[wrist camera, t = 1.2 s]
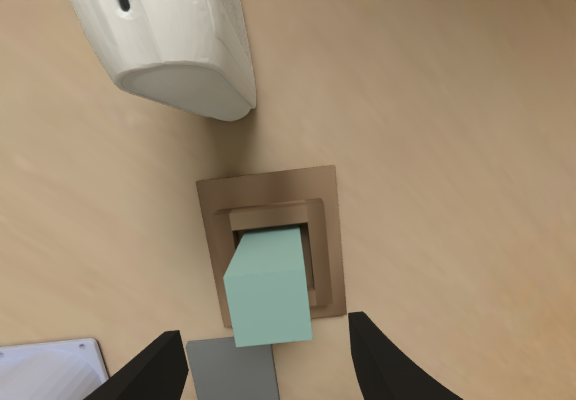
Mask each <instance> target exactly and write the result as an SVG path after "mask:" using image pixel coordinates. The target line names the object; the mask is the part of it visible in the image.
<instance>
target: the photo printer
mask: <svg viewBox="0 0 576 400" xmlns="http://www.w3.org/2000/svg"><path fill="white" fill-rule="evenodd" d="M70 1H71V4H72V6H73V8H74V11H75V13H76V15H77V17H78V20H79V22H80V24H81V26H82V28H83V30H84V32H85V35H86V37H87V39H88V41H89V43H90V45H91V46H92V48H93V50H94V52H95V54H96V55H97V57H98V59H99V61H100V62H101V64H102V65H103V67H104V69H105V70H106V72H107V74H108V75H109V77H110V78H111V80H112V81H113V83H114V84H115V85H116V86H117V87H118V88H119V89H121V90H123V91H125V92H128V93H130V94H133V95H137V96H140V97H143V98H145V99H149V100H152V101H155V102H158V103H161V104H164V105H167V106H171V107H174V108H176V109H180V110H183V111H186V112H189V113H192V114H196V115H199V116H202V117H213V118H216V119H219V120H222V121H235V120H238V119H241V118H242V117H244V116H245V115H247V114H248V113H249V111H250V110H251V109H255V108H256V85H255V79H254V72H253V66H252V60H251V54H250V48H249V43H248V37H247V32H246V27H245V22H244V16H243V11H242V6H241V1H240V0H70Z"/></svg>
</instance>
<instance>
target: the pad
mask: <svg viewBox="0 0 576 400" xmlns="http://www.w3.org/2000/svg"><path fill="white" fill-rule="evenodd" d="M186 351H187V355H188V359H189V364H190V368H191V372H192V376H193V381H194V385H195V389H196V393H197V397H198V400H280V398H279V391H278V384H277V378H276V371H275V365H274V358H273V352H272V345H271V344H264V345H254V346H244V347H236V344H235V338H234V337H229V338H219V339H209V340H199V341H189V342H188V343H187V345H186Z"/></svg>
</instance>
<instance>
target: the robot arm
mask: <svg viewBox="0 0 576 400" xmlns="http://www.w3.org/2000/svg"><path fill="white" fill-rule="evenodd" d="M348 318H349V331H350V344H351V355H352V359H353V363H354V368H355V372H356V376H357V380H358V383H359V386H360V389H361V391H362V394H363V397H364V400H463V399H462V398H460V397H459V396H457V395H456V394H454V393H453V392H451V391H450V390H448V389H447V388H446V387H444V386H443V385H441V384H440V383H439V382H438V381H436V380H435V379H434V378H432V377H431V376H430V375H428V374H427V373H426V372H425V371H424V370H422V369H421V368H420V367H419V366H418V365H416V364H415V363H414V362H413V361H412V360H411V359H410V358H408V357H407V356H406V355H405V354H404V353H403V352H402V351H401V350H400V349H399V348H398V347H397V346H396V345H395V344H393V343H392V342H391V341H390V340H389V339H388V338H387V337H386V336H385V335H384V334H383V333H382V331H381V330H380V329H379V328H378V327H377V326H376V325H375V324H374V323H373V322H372V321H371V319H370V318H369V317H368V316H367V315H366V314H365V313H364V312H363V311H362V312H353V313H348ZM188 371H189V369H188V365H187V361H186V356H185V352H184V348H183V344H182V340H181V336H180V331H179V330H175V331H166V332H164V333H163V334H161V335H160V336H159V337H158V338H156V339H155V340H154V341H153V342H152V343H151V344H149V345H148V346H147V347H146V348H145V349H144V350H142V351H141V352H140V353H139V354H138V355H137V356H136V357H134V358H133V359H132V360H131V361H130V362H129V363H127V364H126V365H125V366H124V367H123V368H122V369H120V370H119V371H118V372H117V373H115V374H114V375H113V376H112V377H111V378H108V375H107V372H106V369H105V365H104V362H103V359H102V356H101V353H100V350H99V347H98V344H97V341H96V340H95V339H93V338H86V339H76V340H66V341H57V342H47V343H37V344H27V345H18V346H8V347H0V400H180V398H181V395H182V392H183V389H184V385H185V382H186V378H187V375H188Z"/></svg>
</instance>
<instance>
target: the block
mask: <svg viewBox="0 0 576 400" xmlns="http://www.w3.org/2000/svg"><path fill="white" fill-rule="evenodd" d="M223 280H224V285H225V290H226V296H227V301H228V306H229V312H230V317H231V322H232V328H233V333H234V338H235V344H236V347H244V346H254V345H264V344H274V343H284V342H294V341H304V340H313V337H312V328H311V319H310V310H309V301H308V292H307V283H306V275H305V266H304V259H303V251H302V243H301V236H300V228H299V224H296V225H287V226H278V227H270V228H261V229H252V230H246V231H245V233H244V235H243V237H242V239H241V241H240V243H239V245H238V247H237V249H236V252H235V254H234V256H233V258H232V260H231V262H230V264H229V266H228V268H227V271H226V273H225V275H224V277H223Z"/></svg>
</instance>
